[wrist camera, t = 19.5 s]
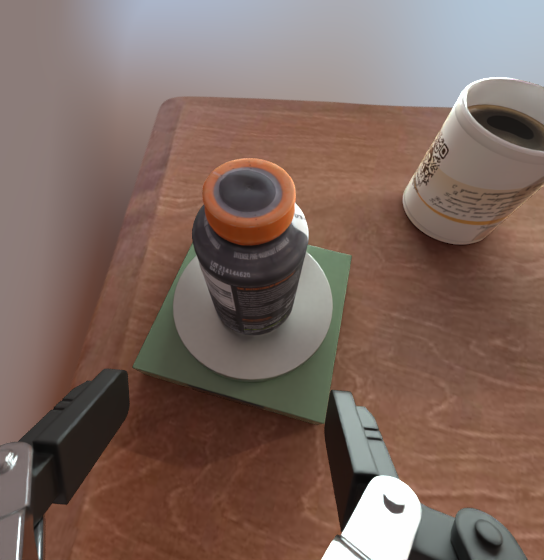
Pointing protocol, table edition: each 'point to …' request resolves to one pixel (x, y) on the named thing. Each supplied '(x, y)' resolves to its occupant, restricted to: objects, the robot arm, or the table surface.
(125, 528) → the table surface
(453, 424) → the table surface
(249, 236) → the pill bottle
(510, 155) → the mug
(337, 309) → the scale
